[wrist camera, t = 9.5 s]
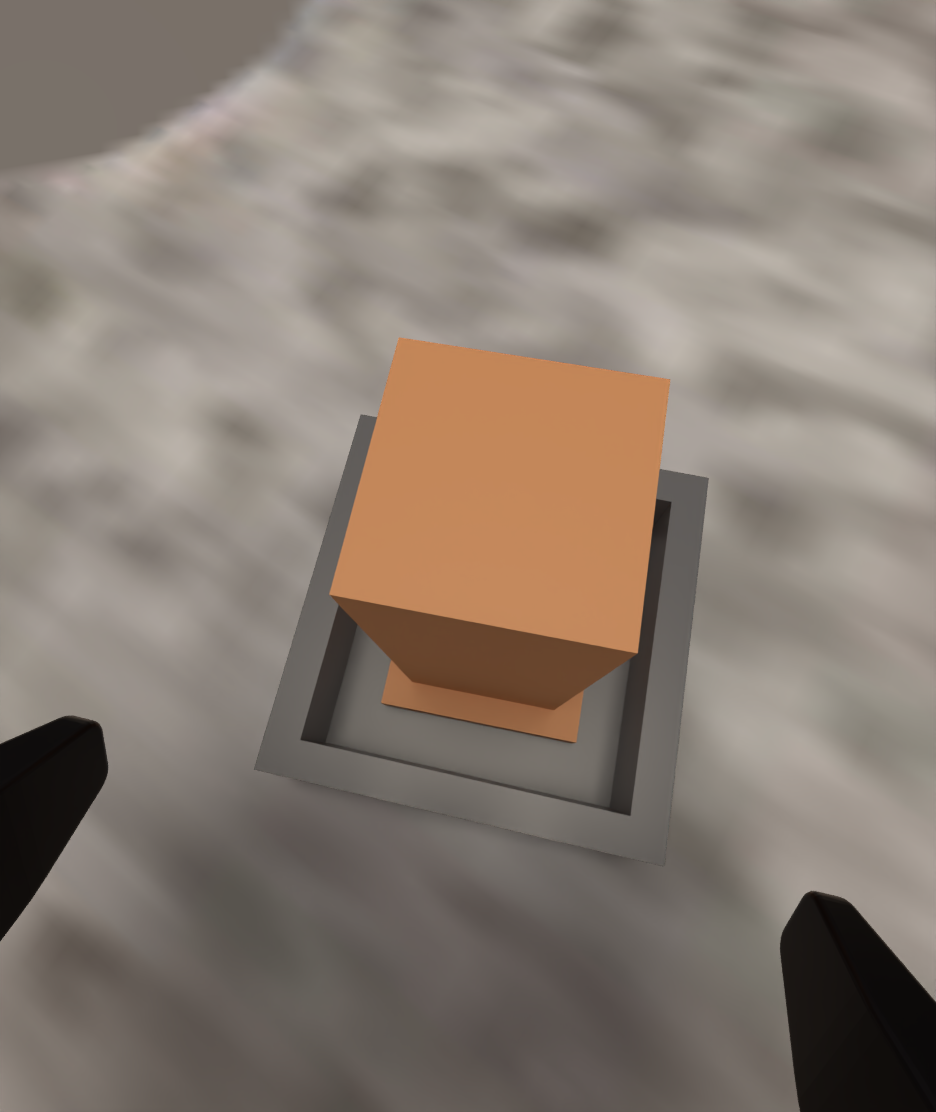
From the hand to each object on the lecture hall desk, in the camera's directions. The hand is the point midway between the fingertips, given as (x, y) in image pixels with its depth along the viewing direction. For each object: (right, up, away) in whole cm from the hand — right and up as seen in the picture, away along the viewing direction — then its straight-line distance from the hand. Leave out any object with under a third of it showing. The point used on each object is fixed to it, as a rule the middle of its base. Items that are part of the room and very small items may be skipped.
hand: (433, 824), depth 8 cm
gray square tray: (+1, +1, +14) cm, 14 cm away
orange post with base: (+1, +1, +13) cm, 13 cm away
